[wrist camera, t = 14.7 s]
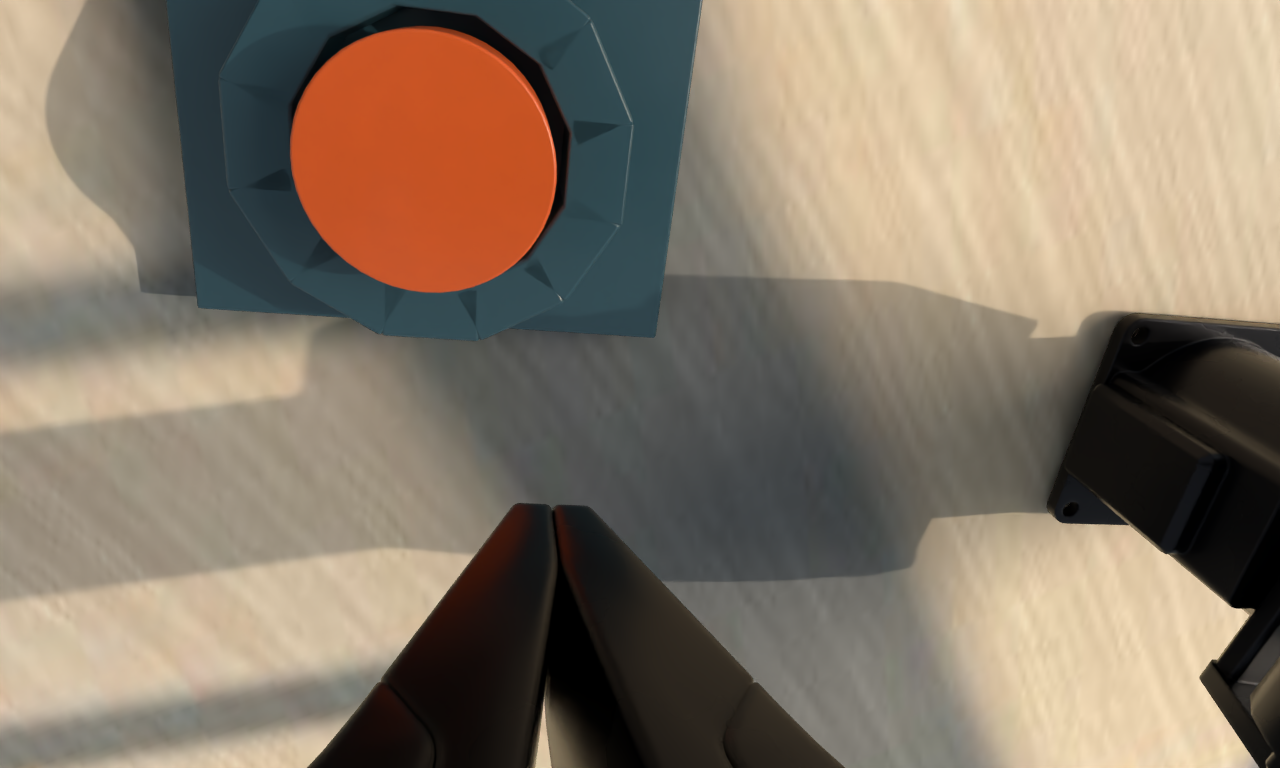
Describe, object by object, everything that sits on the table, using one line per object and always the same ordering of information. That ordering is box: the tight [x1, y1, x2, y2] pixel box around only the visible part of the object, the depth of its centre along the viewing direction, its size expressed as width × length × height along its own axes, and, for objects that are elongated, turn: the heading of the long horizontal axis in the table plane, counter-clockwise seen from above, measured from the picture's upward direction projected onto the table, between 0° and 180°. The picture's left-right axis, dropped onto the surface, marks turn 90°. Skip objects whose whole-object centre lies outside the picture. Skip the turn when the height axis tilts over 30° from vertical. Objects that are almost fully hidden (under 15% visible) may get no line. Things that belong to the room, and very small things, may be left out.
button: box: [290, 26, 557, 293], centre depth 14 cm, size 4×4×2 cm
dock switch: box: [166, 0, 703, 341], centre depth 16 cm, size 10×8×3 cm
